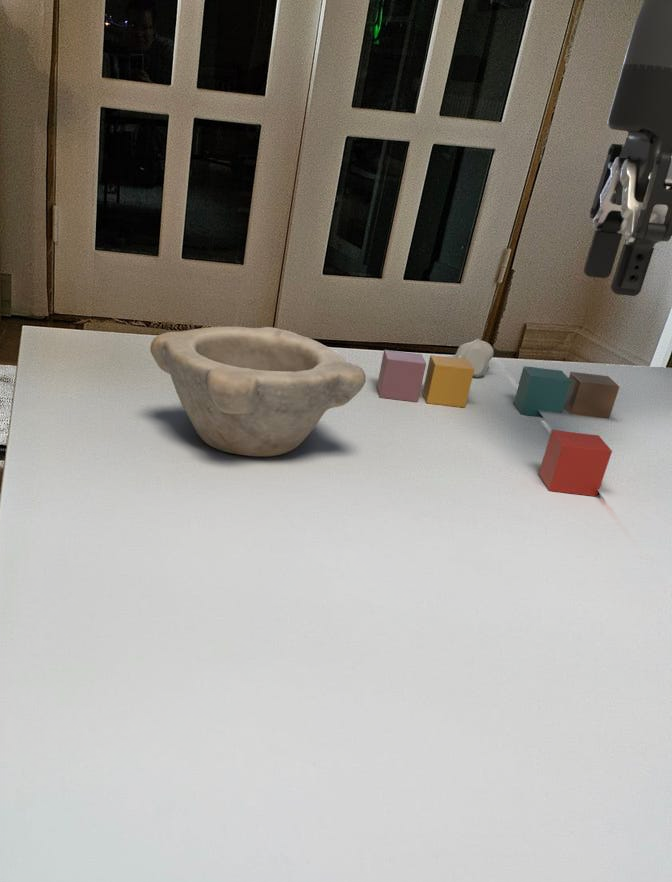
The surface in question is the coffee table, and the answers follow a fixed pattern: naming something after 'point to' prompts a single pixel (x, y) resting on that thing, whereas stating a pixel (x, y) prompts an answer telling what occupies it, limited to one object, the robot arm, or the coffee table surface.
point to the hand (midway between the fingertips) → (609, 285)
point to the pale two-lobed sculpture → (476, 355)
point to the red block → (574, 463)
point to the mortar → (255, 385)
